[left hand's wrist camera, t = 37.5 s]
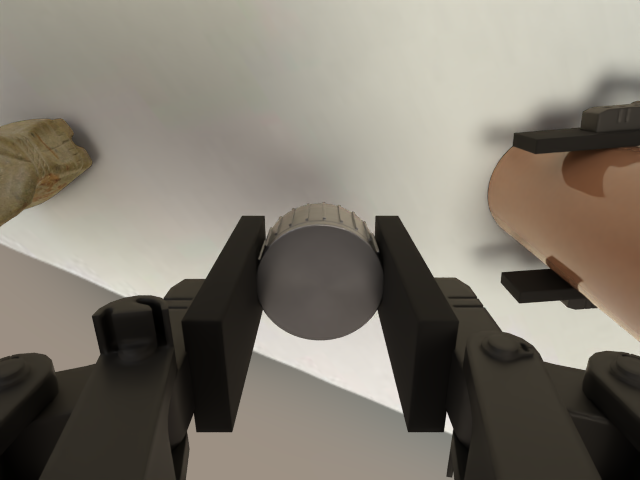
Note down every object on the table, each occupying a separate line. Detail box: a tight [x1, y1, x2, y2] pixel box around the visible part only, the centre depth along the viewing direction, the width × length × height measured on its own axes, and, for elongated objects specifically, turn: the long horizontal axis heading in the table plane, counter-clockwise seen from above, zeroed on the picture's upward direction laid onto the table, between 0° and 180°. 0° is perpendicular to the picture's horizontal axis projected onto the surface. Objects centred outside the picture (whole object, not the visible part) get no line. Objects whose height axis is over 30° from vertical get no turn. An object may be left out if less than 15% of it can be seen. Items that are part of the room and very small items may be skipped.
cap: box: [256, 202, 384, 340], centre depth 13 cm, size 4×4×2 cm
